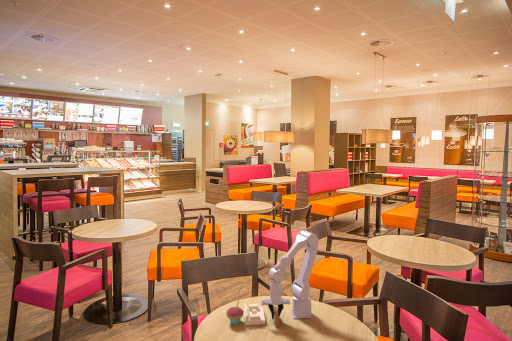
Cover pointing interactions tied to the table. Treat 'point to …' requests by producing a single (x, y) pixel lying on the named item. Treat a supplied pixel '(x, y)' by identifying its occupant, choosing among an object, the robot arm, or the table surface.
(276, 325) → the brown wooden bar
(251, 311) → the cream lipped block
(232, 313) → the cupcake
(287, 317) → the table surface
